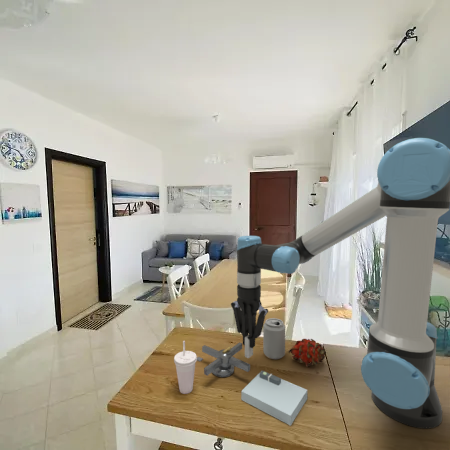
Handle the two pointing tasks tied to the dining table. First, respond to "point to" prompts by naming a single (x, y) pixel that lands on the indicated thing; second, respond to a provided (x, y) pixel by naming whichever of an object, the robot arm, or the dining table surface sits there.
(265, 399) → the pale grey switch box
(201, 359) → the tick mark
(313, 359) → the dragon fruit
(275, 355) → the can
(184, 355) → the smoothie
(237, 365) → the capstan
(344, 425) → the dining table surface
